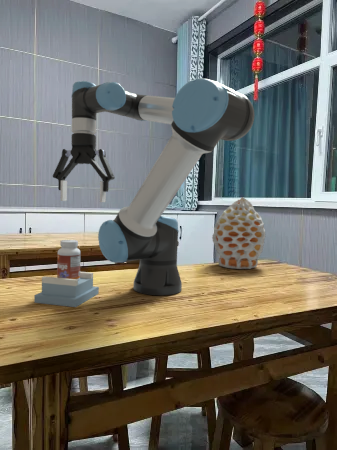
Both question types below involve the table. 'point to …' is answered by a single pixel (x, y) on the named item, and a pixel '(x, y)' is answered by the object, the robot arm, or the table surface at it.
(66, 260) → the pill bottle
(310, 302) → the table surface
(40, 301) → the pedestal
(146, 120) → the robot arm
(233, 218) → the sculpture
